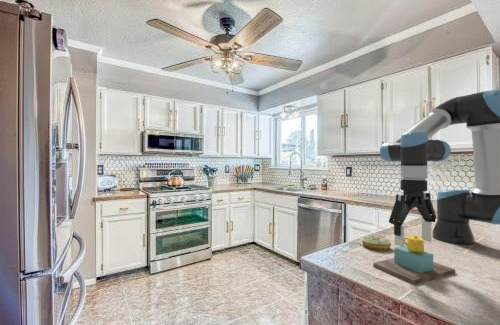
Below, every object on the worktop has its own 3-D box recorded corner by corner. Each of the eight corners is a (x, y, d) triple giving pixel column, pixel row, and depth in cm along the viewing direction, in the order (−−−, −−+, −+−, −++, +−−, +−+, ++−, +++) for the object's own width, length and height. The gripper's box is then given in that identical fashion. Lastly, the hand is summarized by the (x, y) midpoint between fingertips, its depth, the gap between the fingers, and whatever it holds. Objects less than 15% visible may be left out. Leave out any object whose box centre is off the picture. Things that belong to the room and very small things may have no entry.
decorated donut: (372, 242, 113) (372, 233, 113) (396, 249, 104) (396, 239, 104) (357, 245, 108) (357, 236, 108) (380, 253, 99) (381, 243, 99)
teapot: (402, 246, 88) (402, 231, 88) (422, 248, 85) (422, 233, 85) (403, 253, 81) (403, 237, 81) (425, 256, 78) (425, 239, 78)
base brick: (406, 259, 89) (406, 245, 89) (433, 269, 81) (433, 254, 81) (394, 262, 86) (394, 247, 86) (420, 272, 78) (421, 256, 78)
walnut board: (412, 257, 94) (412, 254, 94) (455, 273, 81) (455, 269, 81) (373, 266, 86) (373, 262, 86) (414, 284, 73) (414, 280, 73)
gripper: (426, 177, 92) (425, 235, 92) (376, 179, 82) (376, 244, 82) (449, 178, 85) (448, 241, 85) (398, 180, 75) (398, 251, 75)
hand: (413, 243), depth 84 cm, fingers open, 13 cm apart
